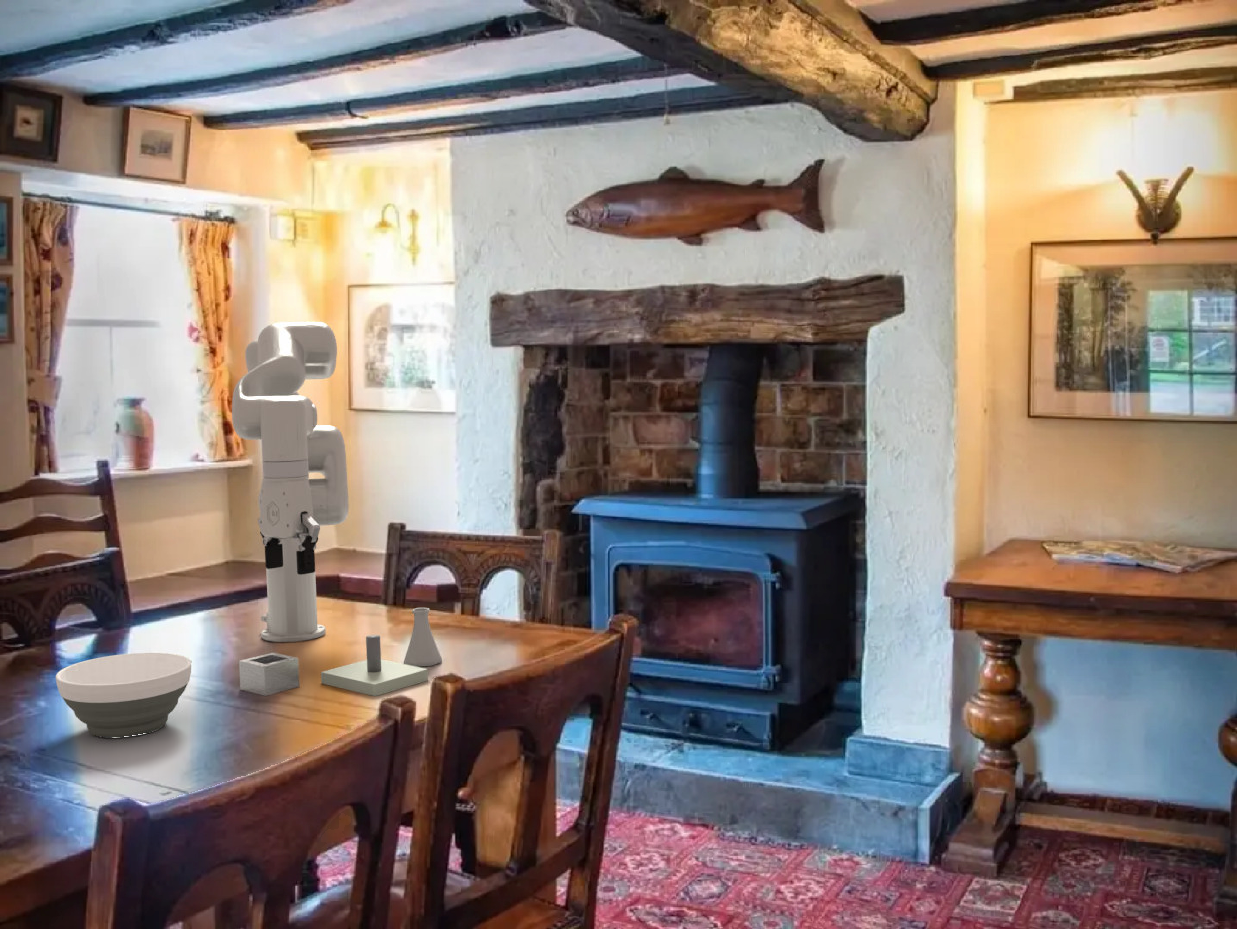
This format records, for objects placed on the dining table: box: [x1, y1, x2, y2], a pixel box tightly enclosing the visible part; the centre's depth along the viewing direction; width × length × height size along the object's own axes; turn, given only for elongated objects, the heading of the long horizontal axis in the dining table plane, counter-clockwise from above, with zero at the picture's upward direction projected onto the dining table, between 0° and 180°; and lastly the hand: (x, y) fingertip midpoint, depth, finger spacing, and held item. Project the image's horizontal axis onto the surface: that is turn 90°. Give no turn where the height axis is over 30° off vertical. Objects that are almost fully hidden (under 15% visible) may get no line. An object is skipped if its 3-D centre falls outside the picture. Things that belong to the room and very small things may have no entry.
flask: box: [403, 607, 443, 667], centre depth 234 cm, size 7×7×10 cm
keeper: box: [320, 634, 429, 697], centre depth 222 cm, size 14×12×8 cm
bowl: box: [55, 652, 192, 738], centre depth 198 cm, size 20×20×10 cm
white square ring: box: [238, 652, 300, 697], centre depth 219 cm, size 7×7×5 cm
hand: (290, 570), depth 219 cm, fingers open, 9 cm apart
